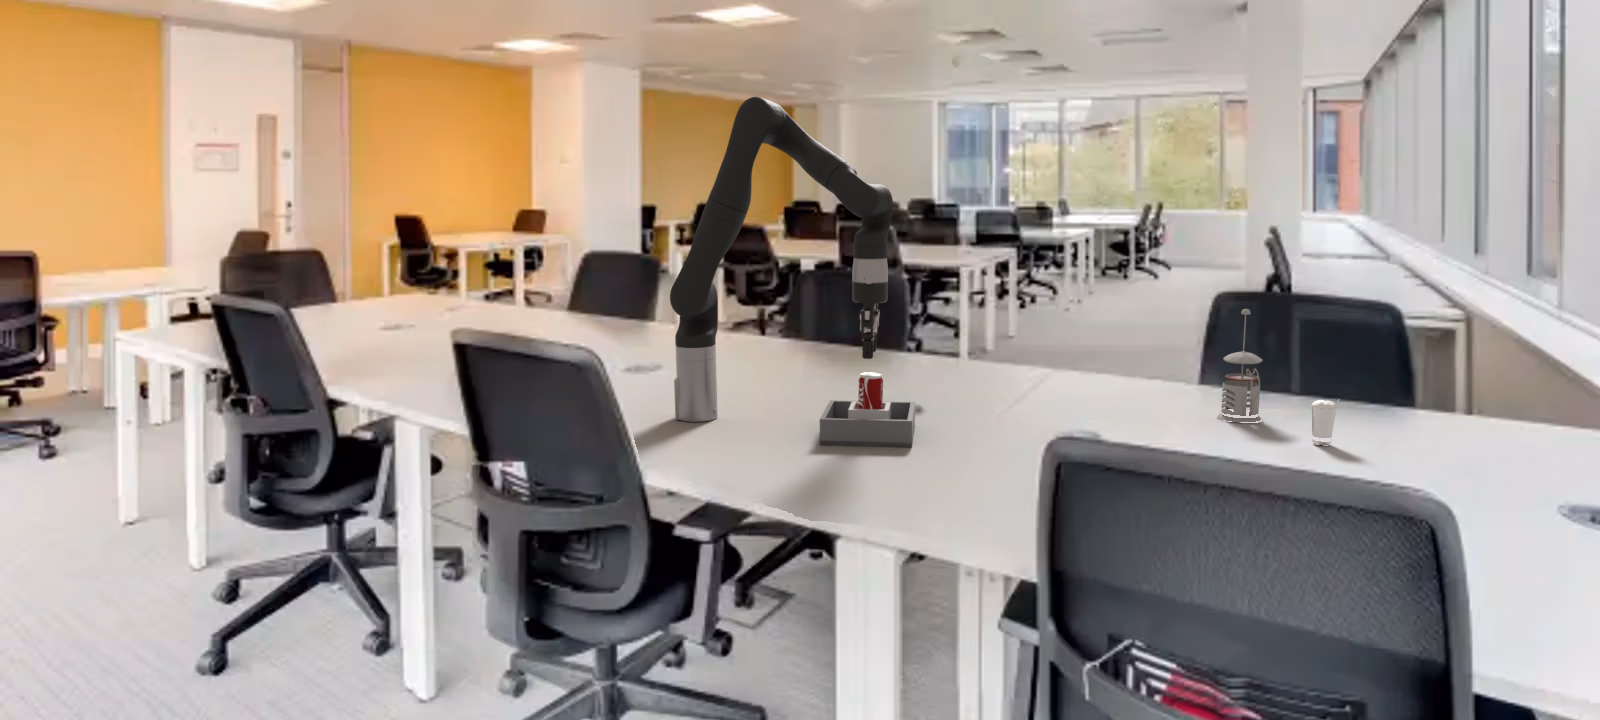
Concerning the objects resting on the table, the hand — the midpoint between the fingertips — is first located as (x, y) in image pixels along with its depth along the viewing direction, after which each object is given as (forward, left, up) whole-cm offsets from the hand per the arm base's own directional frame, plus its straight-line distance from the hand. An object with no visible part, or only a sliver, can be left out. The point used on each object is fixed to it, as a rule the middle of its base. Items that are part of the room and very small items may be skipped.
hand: (869, 355), depth 220 cm
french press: (+82, +20, -17) cm, 86 cm away
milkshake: (+92, -2, -17) cm, 94 cm away
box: (0, -2, -17) cm, 17 cm away
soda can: (0, 0, -16) cm, 16 cm away
